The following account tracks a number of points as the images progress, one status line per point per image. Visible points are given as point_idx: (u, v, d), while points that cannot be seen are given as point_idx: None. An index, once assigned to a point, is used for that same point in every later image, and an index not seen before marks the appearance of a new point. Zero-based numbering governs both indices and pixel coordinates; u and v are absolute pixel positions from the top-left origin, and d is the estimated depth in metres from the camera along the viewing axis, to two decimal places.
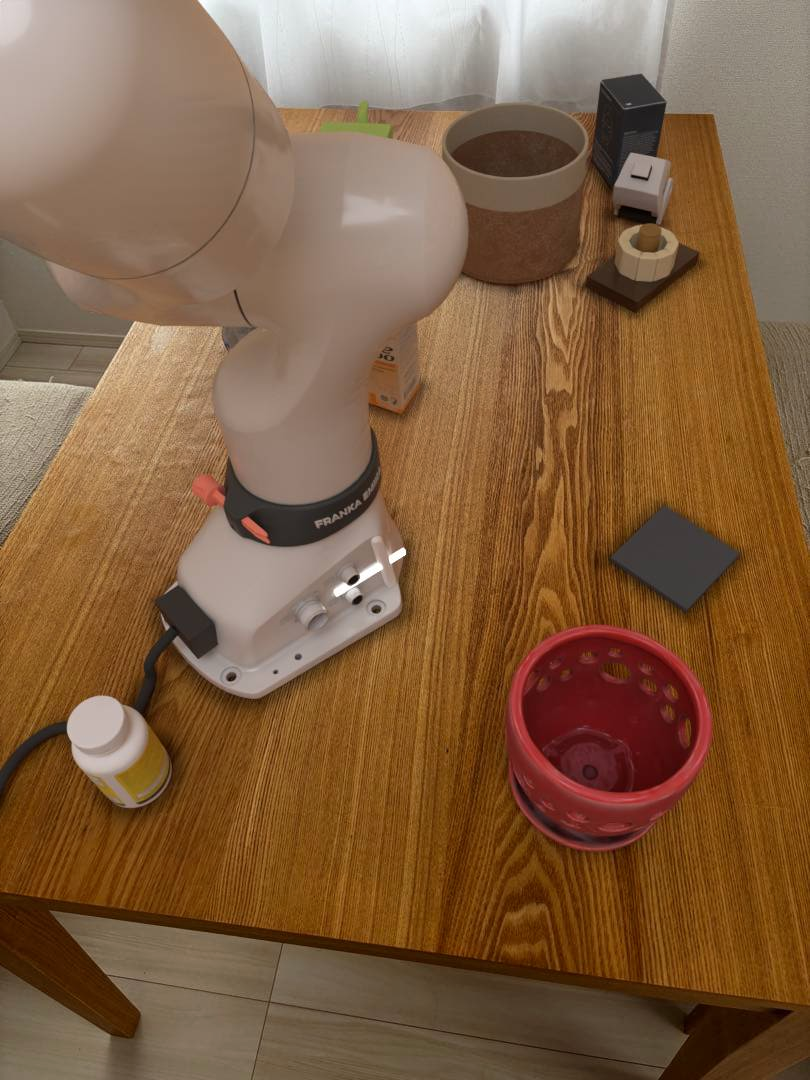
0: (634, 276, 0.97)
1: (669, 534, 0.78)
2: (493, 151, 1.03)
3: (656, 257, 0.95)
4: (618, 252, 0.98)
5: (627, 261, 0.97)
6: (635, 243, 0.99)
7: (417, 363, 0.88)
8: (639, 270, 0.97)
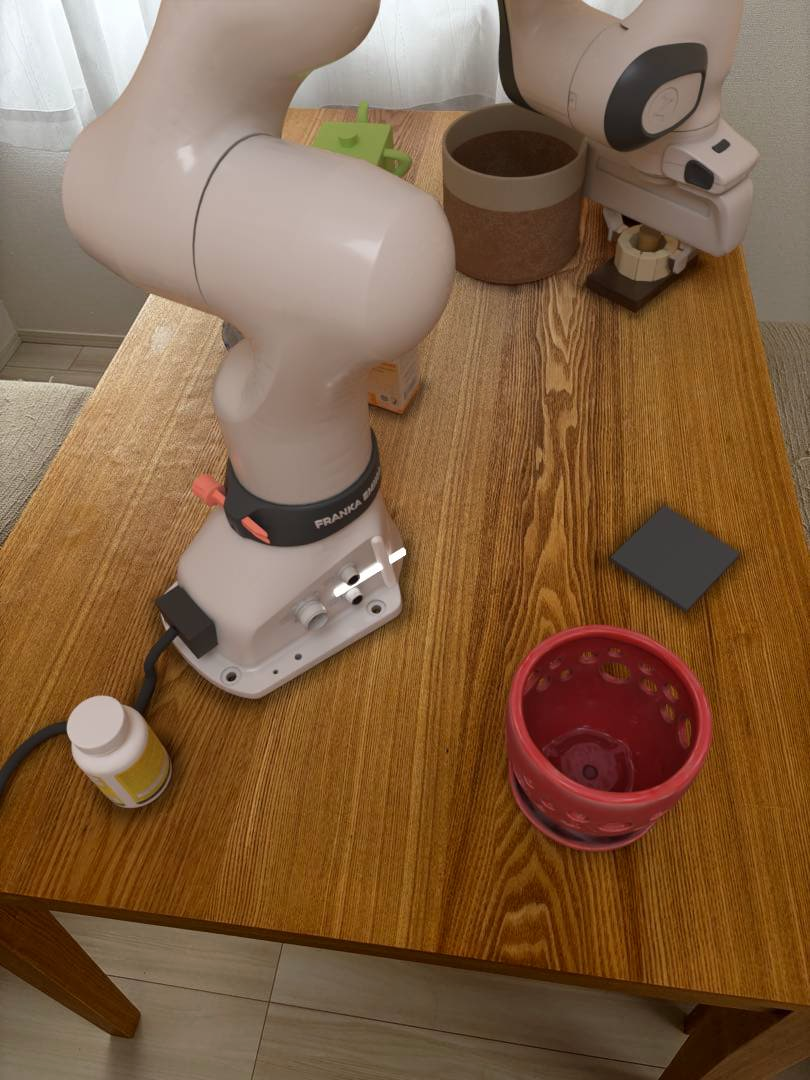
0: (634, 276, 0.97)
1: (669, 534, 0.78)
2: (493, 151, 1.03)
3: (656, 257, 0.95)
4: (618, 252, 0.98)
5: (627, 261, 0.97)
6: (635, 243, 0.99)
7: (417, 363, 0.88)
8: (639, 270, 0.97)
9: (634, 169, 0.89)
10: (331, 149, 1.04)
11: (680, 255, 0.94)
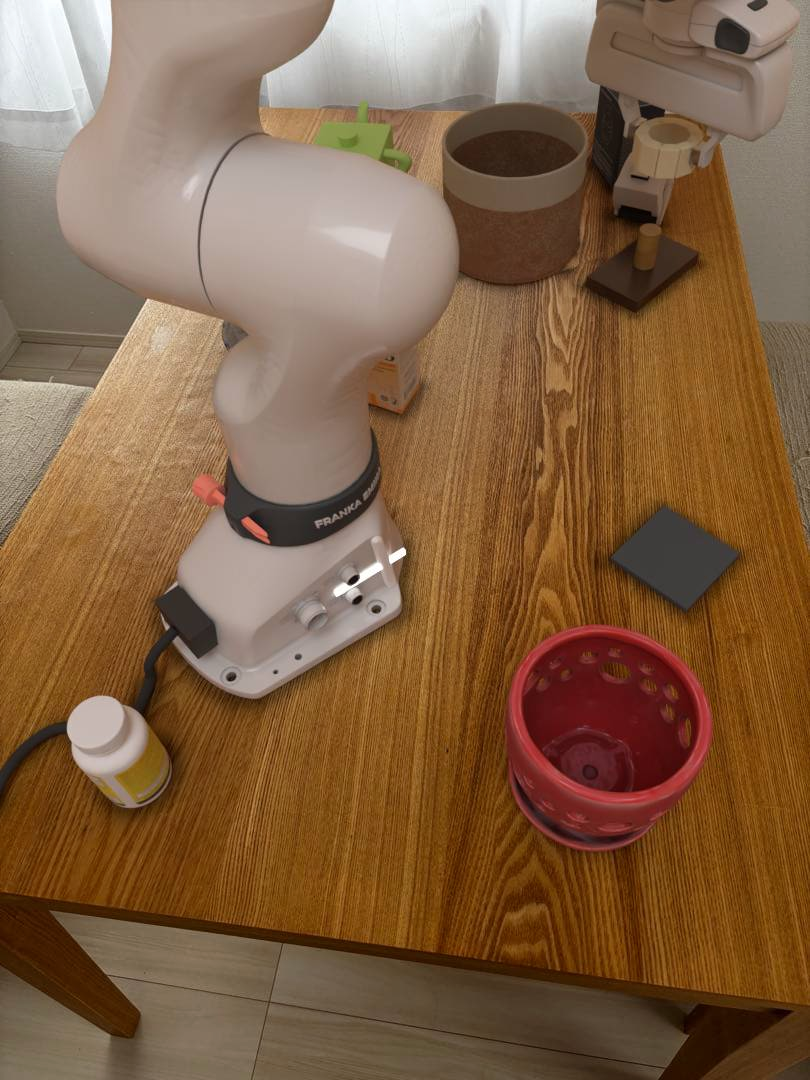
0: (653, 172, 0.87)
1: (669, 534, 0.78)
2: (493, 151, 1.03)
3: (679, 148, 0.85)
4: (635, 146, 0.87)
5: (646, 155, 0.86)
6: (654, 138, 0.89)
7: (417, 363, 0.88)
8: (659, 165, 0.86)
9: (656, 40, 0.79)
10: None
11: (706, 144, 0.83)
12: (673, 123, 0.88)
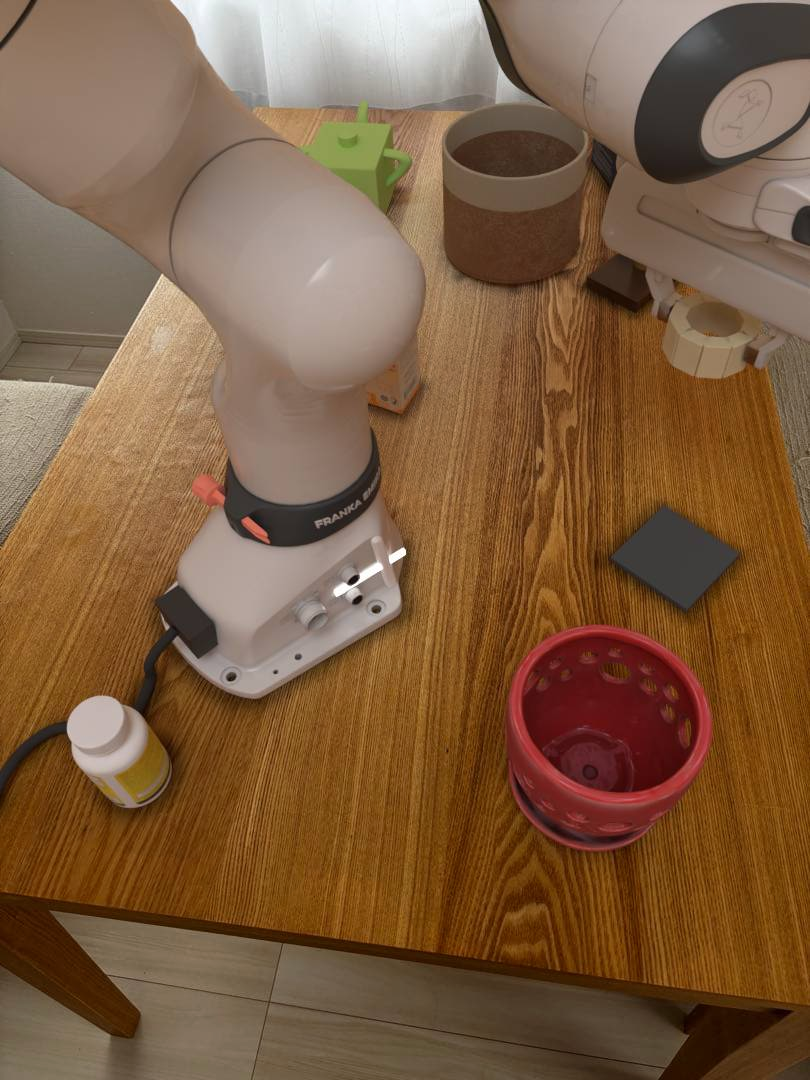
0: (694, 371, 0.65)
1: (669, 534, 0.78)
2: (493, 151, 1.03)
3: (729, 345, 0.63)
4: (669, 334, 0.65)
5: (684, 350, 0.64)
6: (693, 319, 0.67)
7: (417, 363, 0.88)
8: (702, 363, 0.64)
9: (703, 216, 0.57)
10: (331, 149, 1.04)
11: (768, 345, 0.61)
12: (718, 302, 0.66)
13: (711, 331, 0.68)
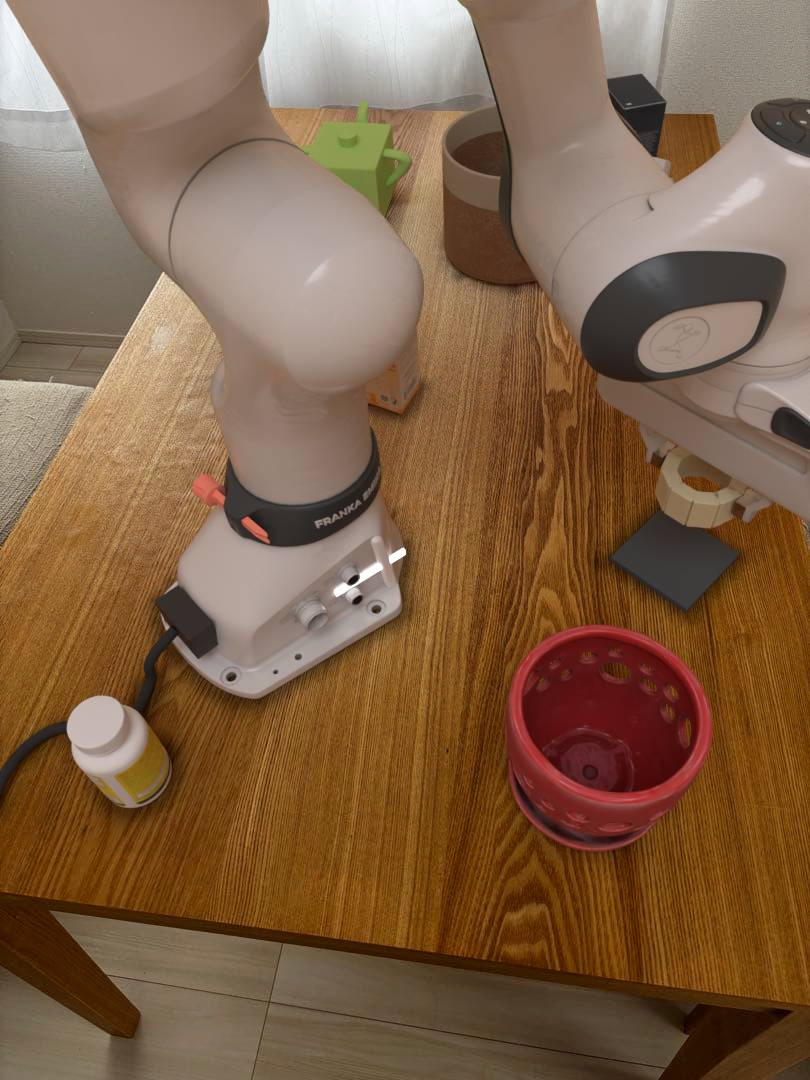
0: (684, 521, 0.68)
1: (669, 534, 0.78)
2: (493, 151, 1.03)
3: (718, 501, 0.66)
4: (661, 484, 0.68)
5: (675, 502, 0.67)
6: (685, 467, 0.70)
7: (417, 363, 0.88)
8: (692, 515, 0.67)
9: None
10: (331, 149, 1.04)
11: (754, 505, 0.64)
12: None
13: (703, 476, 0.71)
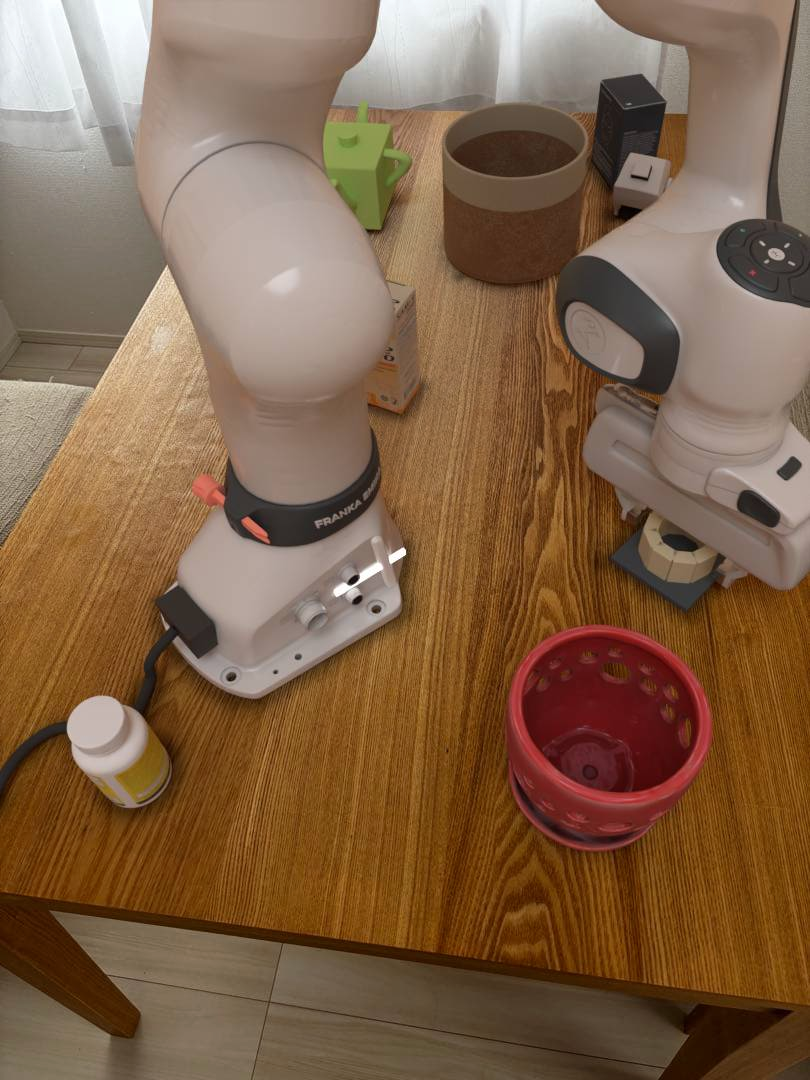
0: (665, 577, 0.74)
1: (669, 534, 0.78)
2: (493, 151, 1.03)
3: (695, 560, 0.72)
4: (644, 544, 0.75)
5: (656, 560, 0.74)
6: (665, 526, 0.76)
7: (417, 363, 0.88)
8: (672, 572, 0.73)
9: None
10: (331, 149, 1.04)
11: (733, 573, 0.70)
12: None
13: (682, 533, 0.77)
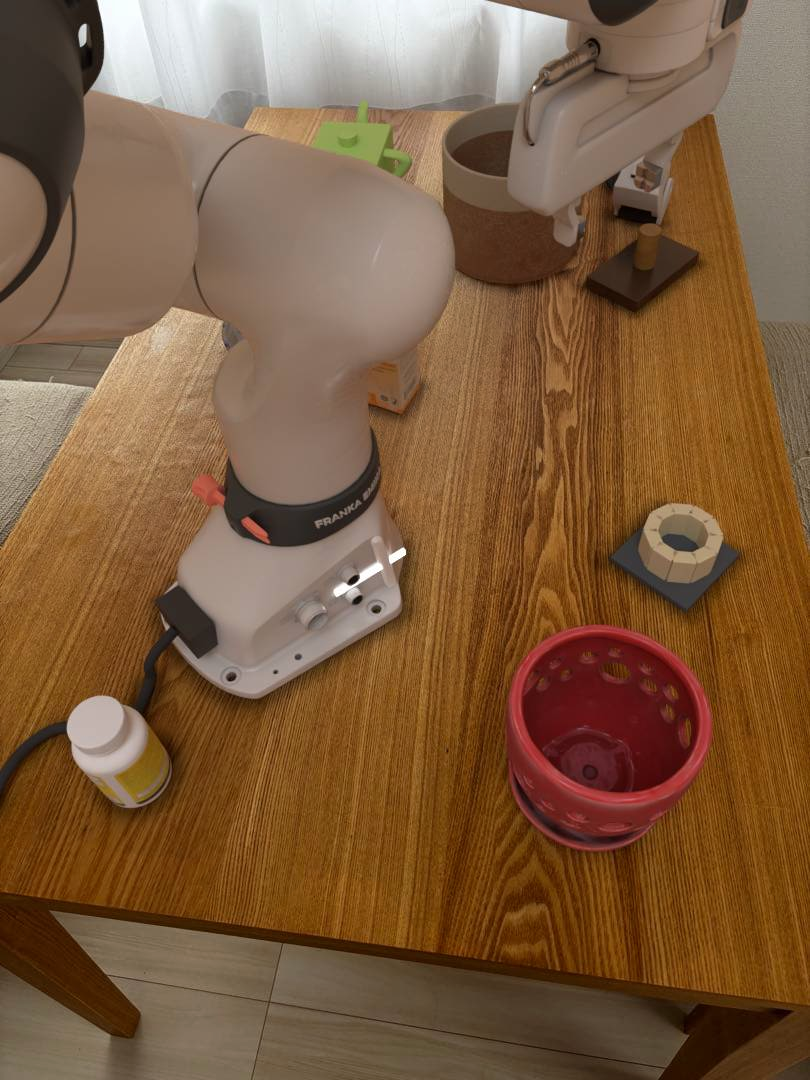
0: (665, 577, 0.74)
1: (669, 534, 0.78)
2: (493, 151, 1.03)
3: (695, 560, 0.72)
4: (644, 544, 0.75)
5: (656, 560, 0.74)
6: (665, 526, 0.76)
7: (417, 363, 0.88)
8: (672, 572, 0.73)
9: (648, 84, 0.55)
10: (331, 149, 1.04)
11: (670, 154, 0.65)
12: (687, 514, 0.75)
13: (682, 533, 0.77)
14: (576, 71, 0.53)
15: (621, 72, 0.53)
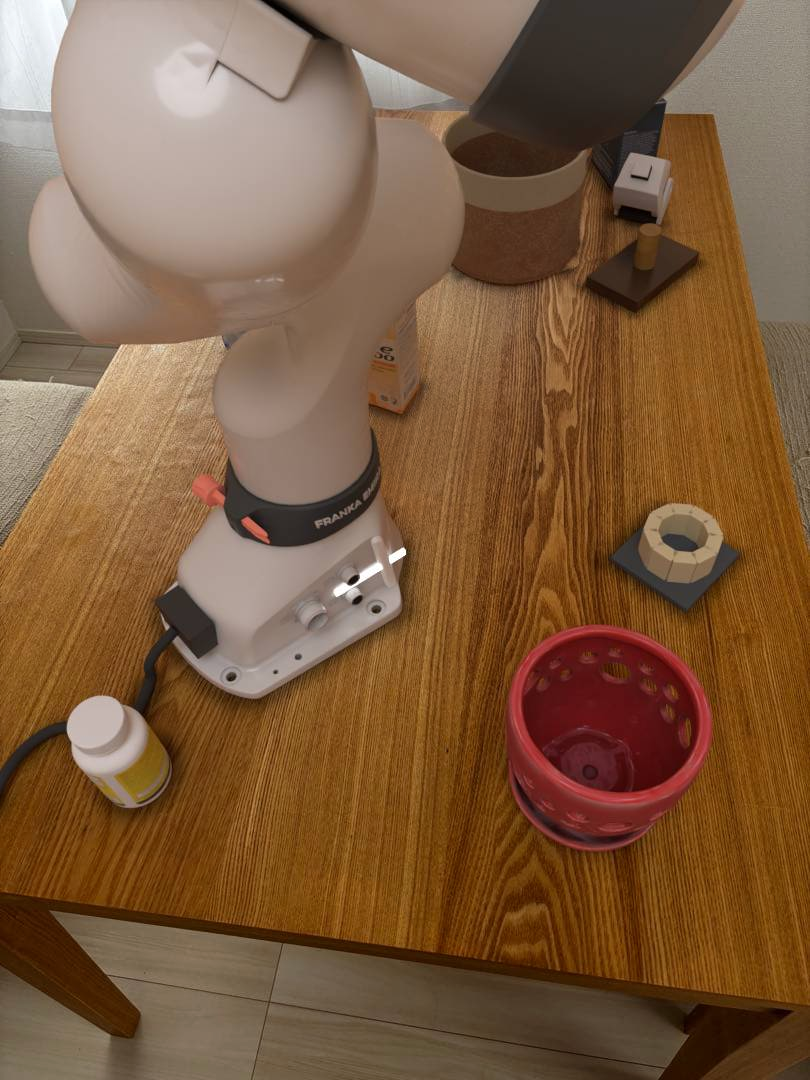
0: (665, 577, 0.74)
1: (669, 534, 0.78)
2: (493, 151, 1.03)
3: (695, 560, 0.72)
4: (644, 544, 0.75)
5: (656, 560, 0.74)
6: (665, 526, 0.76)
7: (417, 363, 0.88)
8: (672, 572, 0.73)
9: None
10: None
11: None
12: (687, 514, 0.75)
13: (682, 533, 0.77)
14: None
15: None
